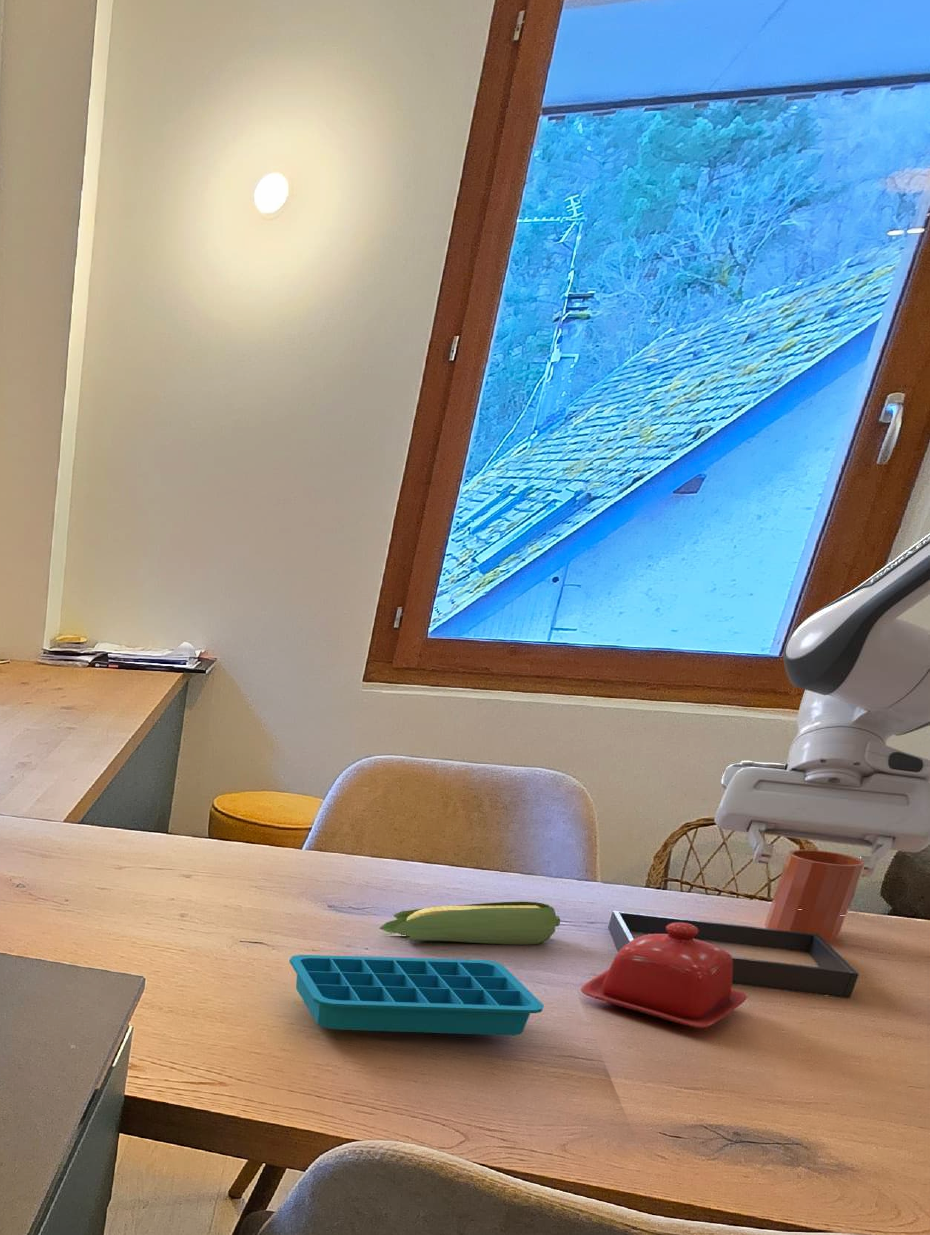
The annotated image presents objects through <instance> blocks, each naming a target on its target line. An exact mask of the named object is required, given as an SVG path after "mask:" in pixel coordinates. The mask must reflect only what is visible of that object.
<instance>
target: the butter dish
mask: <svg viewBox="0 0 930 1235" xmlns="http://www.w3.org/2000/svg"><path fill="white" fill-rule="evenodd" d="M666 930H667V932H668V934H644V935H641V936H638V937H637V938H634V940H632V941H631V942H629V943H628V944H626V945H625V946H624V947H623V948H622V949H621V950H620V951H619V952H618V951H617V953H616V955H615V957H614V958H613V961H612V962H611V964H610V967H609V968H608V969H606V970H605V971H603V972H601V973H600V974H598V975H597V976H595V977H593V978H592V979H591V980H589V981H588V982H587V983H585V984H584V985H582V986H581V988H580V991H581V993H582V994H584V995H586V996H588V997H591V998H593V999H596V1000H600V1001H604V1002H606V1003H608V1004H611V1005H614V1006H617V1007H621V1008H624V1009H628V1010H631V1011H635V1012H637V1013H642V1014H645V1015H648V1016H651V1017H655V1018H658V1019H662V1020H666V1021H669V1022H672V1023H676V1024H678V1025H679V1024H680V1025H683V1026H690V1027H693V1028H700V1029H703V1028H708V1027H710V1026H712V1025H714V1024H715V1023H718V1022H719V1021H720V1020H721V1019H722V1018H724V1017H726V1016H727V1015H728V1014H730V1013H731V1012H732V1011H733V1010H735V1009H736V1008H738V1007H739V1006H740V1005H742V1004H743V1003H745V1001H746V1000H747V999H748V995H747V994H746V993H744V992H742V991H739V990H737V989H732V986H733V984H732V975H733V959H732V957H733V956H732V955H731V954H730V952H728V951H727V950H725V949H723V948H721V947H720V946H717V945H715V944H714V943H713V944H712V943H710V942H706V941H705V940H699V939H693V938H694V937H695V936H696V935H697V934H698V929H697V927H695V926H694V925H691V924H688V923H682V922H676V923H671V924H669V925H667V926H666Z"/></svg>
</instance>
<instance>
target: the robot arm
mask: <svg viewBox="0 0 930 1235" xmlns="http://www.w3.org/2000/svg"><path fill="white" fill-rule="evenodd" d="M929 595H930V533H928V534H927V535H925V536H924V537H922V538H921V539H920V540H919V541H918V542H916V543H915V544H913V545H912V546H911V547H910V548H908V549H907V550H904V552H903V553H901V554H900V555H898V556H897V557H895V558H894V559H893V560H892V561H890V562H889V563H888V564H886V565H885V566H883V567H882V568H881V569H880V570H878V571H877V572H875V573H874V574H873V575H872V576H870V577H869V578H868V579H866V580H865V581H863V582H862V583H860V585H858V586H857V587H855V588H854V589H852V590H851V591H849V592H847V593H846V594H843V595H842V596H840V597H839V598H837V599H835V600H833V601H831V602H830V603H828V604H827V605H825V606H823V607H821V608H819V609H818V610H817V611H815V612H813V613H812V614H811V615H809V616H808V617H807V618H806V619H804V620H803V621H802V622H801V623H800V624H799V625H798V626H797V627H796V628H795V629H794V631H793V632H792V634H791V635H790V636H789V638H788V639H787V640H786V643H785V644H784V648H783V665H784V670H785V673H786V675H787V678H788V680H789V682H790V683H791V685H792V686H793V687H795V688H798V689H802V690H804V692H803V695H802V698H801V701H800V704H799V708H798V712H797V717H796V728H797V734H796V735H795V736H794V739H792V742H791V744H790V747H789V752H788V756H787V761H786V764H784V763H775V762H756V761H754V760H742V761H741V762H740V763H733V764H730V765H729V766H727V767H726V768H725V769H724V770H723V772H722V776H721V780H720V785H721V787H722V789H723V790H724V793H723V795H722V798H721V800H720V802H719V805H718V808H717V810H716V813H715V816H714V819H713V822H714V824H716V826H717V827H718V829H720V830H723V831H724V830H725V831H731V832H740V833H742V832H743V833H747V834H746V841H747V842H748V844H749V846H750V847H751V849H752V851H753V852H754V854H753V858H752V863H758V864H766V865H768V864H769V862H770V860H771V858H772V855H773V850H774V847H775V845H774V844H770V843H766V842H765V839H764V838H763V836H765V835H766V836H774V837H783V838H791V839H800V840H807V841H816V842H824V843H831V844H840V845H848V846H856V847H865V848H871V849H870V854H871V855H870V856H864V855H860V856H859V858H858V859H861V860H863V861H864V862H865V866H864V869H863V872H862V875H861V877H863V878H864V877H865V878H871V876H873V874H874V872H875V869H876V864H877V863H879V862H880V861H881V860H883V859H884V858H885V857H886V856H887V855H888V853H889V851H899V852H907V853H919V852H921V851H922V850H924V849H926V848H927V847H929V846H930V759H928V758H924V757H922V756H918V755H914V754H911V753H908V752H905V751H902V750H899V749H896V748H894V747H892V746H889V745H887V744H886V743H887V740H888V739H889V738H891V737H893V736H902V735H903V736H904V735H907V734H909V733H912V732H916V731H918V730H921V729H923V728H926V727H929V726H930V629H926V628H924V627H921V626H919V625H916V624H914V623H911V622H909V621H906V620H904V619H901V618H899V617H900V616H901V615H902V614H904V613H905V612H907V611H908V610H910V609H911V608H913V607H914V606H916V605H917V604H918V603H920V602H921V601H923V600H924V599H925V598H927V597H928V596H929Z"/></svg>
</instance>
